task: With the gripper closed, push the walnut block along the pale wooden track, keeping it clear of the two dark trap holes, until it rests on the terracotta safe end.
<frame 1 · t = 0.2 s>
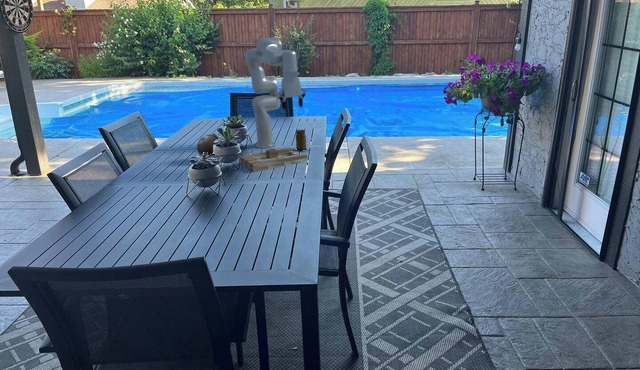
hand: (292, 107, 260), 30 cm above the table, tool pointing down, fingers open, 9 cm apart
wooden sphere: (212, 160, 282), on the table
condiment: (302, 150, 293), on the table
trap track: (273, 162, 270), on the table
walnut block: (272, 157, 273), point 2 cm above the table, touching trap track
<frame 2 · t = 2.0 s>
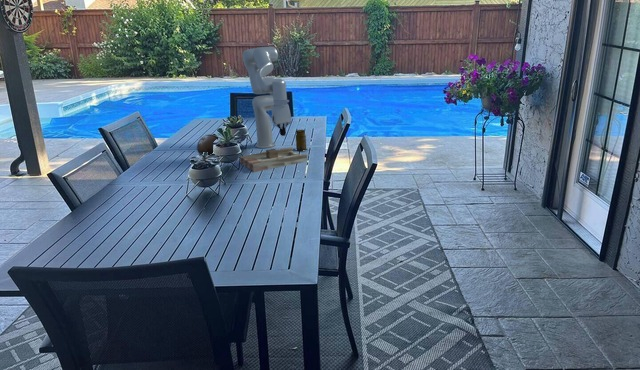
hand: (283, 135, 272), 14 cm above the table, tool pointing down, fingers closed
nothing on the table moved.
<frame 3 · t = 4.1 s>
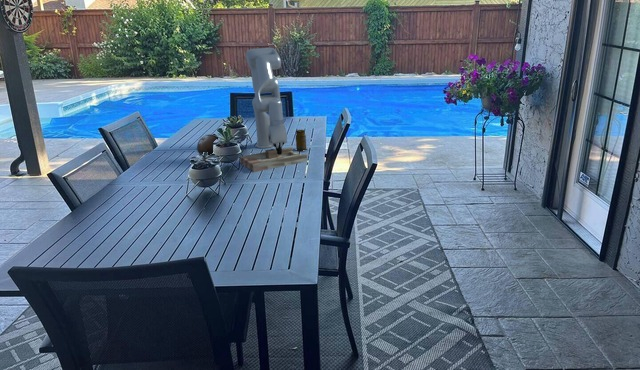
hand: (279, 154, 275), 3 cm above the table, tool pointing down, fingers closed
nothing on the table moved.
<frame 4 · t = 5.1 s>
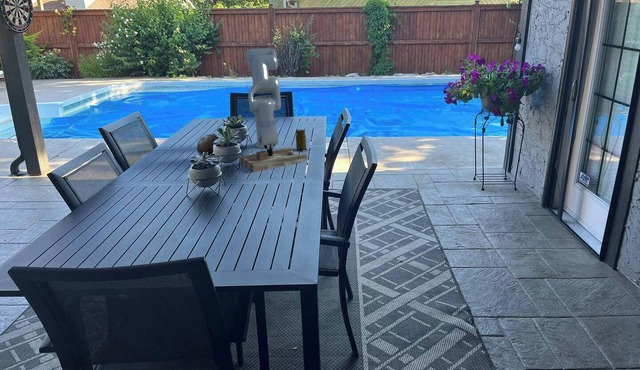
hand: (270, 155, 272), 3 cm above the table, tool pointing down, fingers closed
walnut block: (262, 159, 270), point 2 cm above the table, touching gripper, trap track
everything else where it was.
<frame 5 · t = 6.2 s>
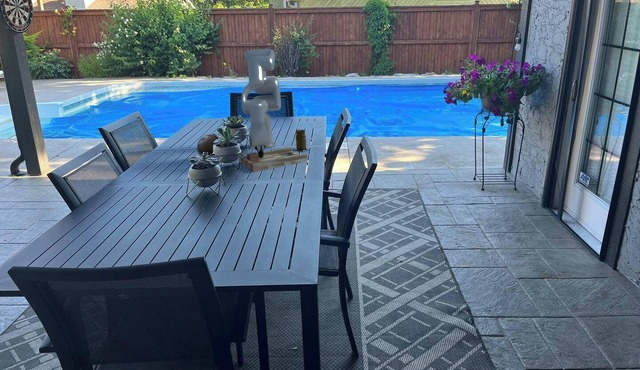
hand: (260, 157, 270), 3 cm above the table, tool pointing down, fingers closed
walnut block: (253, 160, 268), point 2 cm above the table, touching gripper
everything else where it was.
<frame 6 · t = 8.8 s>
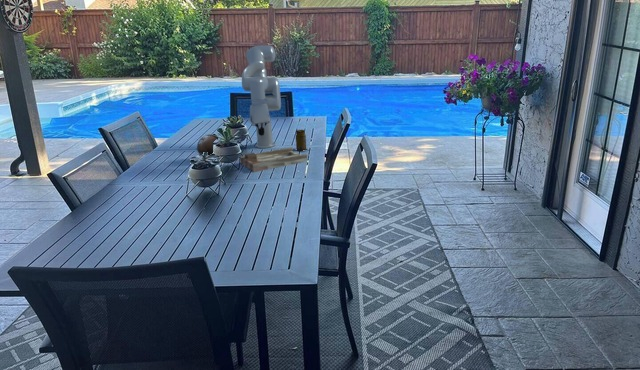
hand: (261, 135, 267), 15 cm above the table, tool pointing down, fingers closed
walnut block: (251, 161, 267), point 2 cm above the table, touching trap track
everything else where it was.
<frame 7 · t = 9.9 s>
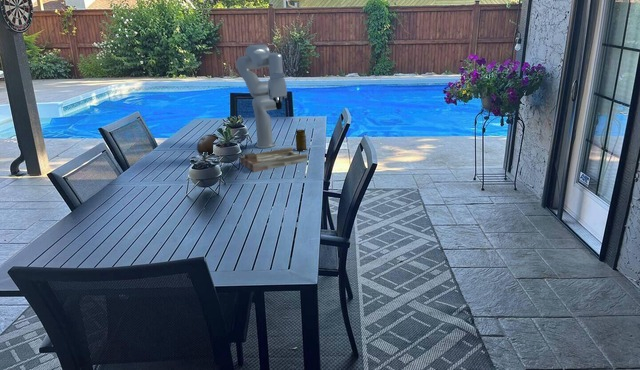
hand: (279, 108, 276), 27 cm above the table, tool pointing down, fingers closed
nothing on the table moved.
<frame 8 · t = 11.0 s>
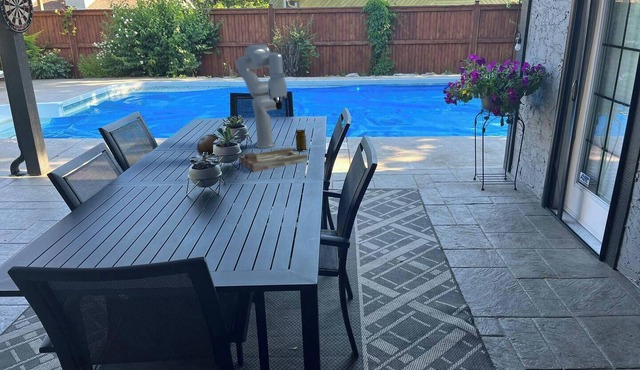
hand: (279, 108, 276), 27 cm above the table, tool pointing down, fingers closed
nothing on the table moved.
at the end: walnut block inside the target area on the trap track (1.3 cm from its centre), point 2.0 cm above the trap track's base; walnut block tilted 0° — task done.
